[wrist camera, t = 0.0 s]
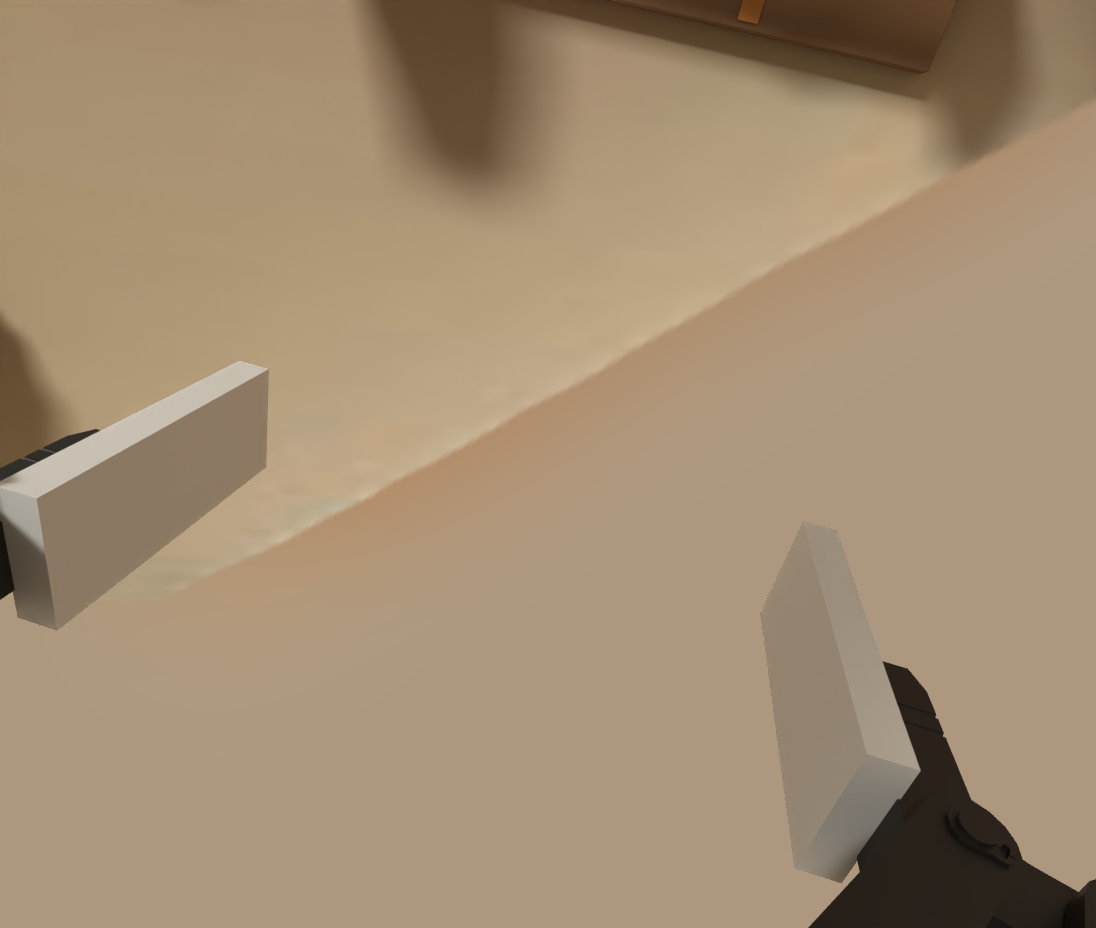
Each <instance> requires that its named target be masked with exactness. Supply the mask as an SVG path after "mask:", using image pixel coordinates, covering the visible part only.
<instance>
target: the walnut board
mask: <svg viewBox="0 0 1096 928" xmlns="http://www.w3.org/2000/svg"><path fill="white" fill-rule="evenodd" d="M609 1H613V2H617V3H622V4H626V5H630V6H634V7H639V8H643V9H647V10H652V11H656V12H660V13H664V14H669V15H673V16H677V17H682V18H686V19H690V20H694V21H699V22H703V23H707V24H712V25H716V26H720V27H724V28H729V29H733V30H737V31H742V32H746V33H750V34H754V35H759V36H763V37H767V38H772V39H776V40H780V41H784V42H789V43H793V44H797V45H802V46H806V47H810V48H814V49H819V50H823V51H827V52H832V53H836V54H840V55H844V56H849V57H853V58H857V59H862V60H866V61H870V62H874V63H879V64H883V65H887V66H891V67H896V68H900V69H904V70H909V71H913V72H917V73H924V72H928V70H929V68H930V65H931V63H932V60H933V58H934V56H935V53H936V51H937V48H938V46H939V43H940V41H941V39H942V36H943V34H944V31H945V29H946V27H947V24H948V22H949V19H950V17H951V14H952V12H953V10H954V7H955V5H956V2H957V0H609Z"/></svg>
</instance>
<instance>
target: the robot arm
mask: <svg viewBox="0 0 1096 928" xmlns="http://www.w3.org/2000/svg"><path fill="white" fill-rule="evenodd" d="M268 373H269V369H267V368H263V367H259V366H256V365H252V364H249V363H245V362H242V361H238V362H236V363H234V364H232V365H230V366H228V367H226V368H224V369H222V370H220V371H218V372H216V373H214V374H212V375H210V376H208V377H206V378H204V379H202V380H200V381H198V382H196V383H194V384H192V385H190V386H188V387H186V388H184V389H182V390H180V391H178V392H176V393H174V394H172V395H170V396H168V397H166V398H164V399H162V400H160V401H158V402H156V403H154V404H152V405H150V406H148V407H147V408H145V409H143V410H141V411H139V412H137V413H135V414H133V415H131V416H129V417H127V418H125V419H123V420H121V421H119V422H117V423H115V424H113V425H111V426H109V427H107V428H105V429H103V430H97V429H94V430H90V431H86V432H82V433H78V434H74V435H69V436H66V437H64V438H62V439H60V440H58V441H56V442H54V443H52V444H50V445H48V446H45V447H44V449H43V450H37V451H35V452H33V453H31V454H29V455H27V456H25V459H24V460H23V459H19V460H17V461H15V462H13V463H10V464H8V465H6V466H4V467H2V468H0V599H2V598H4V597H5V596H7V595H8V594H9V593H11V592H12V591H13V595H14V600H15V605H16V610H17V616H18V618H21V619H24V620H27V621H30V622H33V623H36V624H39V625H42V626H45V627H49V628H52V629H55V630H58V629H60V628H61V627H62V626H63V625H65V624H66V623H67V622H69V621H70V620H71V619H72V618H74V617H75V616H76V615H77V614H79V613H80V612H81V611H83V610H84V609H85V608H86V607H88V606H89V605H90V604H92V603H93V602H94V601H95V600H97V599H98V598H99V597H100V596H102V595H103V594H104V593H106V592H107V591H108V590H109V589H111V588H112V587H113V586H115V585H116V584H117V583H118V582H120V581H121V580H122V579H123V578H125V577H126V576H127V575H129V574H130V573H131V572H132V571H134V570H135V569H136V568H138V567H139V566H140V565H141V564H143V563H144V562H145V561H147V560H148V559H149V558H150V557H152V556H153V555H154V554H155V553H157V552H158V551H159V550H161V549H162V548H163V547H164V546H166V545H167V544H168V543H170V542H171V541H172V540H173V539H175V538H176V537H177V536H178V535H180V534H181V533H182V532H184V531H185V530H186V529H187V528H189V527H190V526H191V525H193V524H194V523H195V522H196V521H198V520H199V519H200V518H201V517H203V516H204V515H205V514H207V513H208V512H209V511H210V510H212V509H213V508H214V507H216V506H217V505H218V504H219V503H221V502H222V501H223V500H224V499H226V498H227V497H228V496H230V495H231V494H232V493H233V492H235V491H236V490H237V489H239V488H240V487H241V486H242V485H244V484H245V483H246V482H247V481H249V480H250V479H251V478H253V477H254V476H255V475H256V474H258V473H259V472H260V471H262V470H263V469H264V468H265V467H266V449H267V411H268ZM760 614H761V620H762V629H763V636H764V644H765V651H766V658H767V666H768V673H769V681H770V688H771V696H772V703H773V711H774V718H775V726H776V733H777V741H778V748H779V755H780V763H781V770H782V778H783V786H784V793H785V801H786V808H787V815H788V823H789V830H790V838H791V846H792V852H793V860H794V867H795V868H796V869H799V870H802V871H805V872H808V873H811V874H814V875H818V876H821V877H824V878H827V879H830V880H833V881H836V882H839V883H842V882H843V880H844V878H845V877H846V876H847V875H848V873H849V872H850V870H851V869H852V867H853V866H854V865H855V863H856V861H858V865H859V870H860V872H859V873H858V875H857V876H856V877H855V878H854V879H853V880H852V881H851V882H850V883H849V884H848V886H847V887H846V888H845V889H844V890H843V891H842V892H841V893H840V894H839V895H838V896H837V897H836V899H835V900H834V901H833V902H832V903H831V904H830V905H829V906H828V907H827V908H826V909H825V910H824V911H823V912H822V914H821V915H820V916H819V917H818V918H817V919H816V920H815V921H814V922H813V923H812V925H811V926H810V927H809V928H1096V879H1095V880H1092V881H1089V882H1088V883H1087V884H1086V885H1085V886H1084V887H1083V888H1082V889H1081V890H1080V891H1079V892H1077V891H1076V890H1074V889H1072V888H1070V887H1069V886H1067V885H1065V884H1063V883H1061V882H1060V881H1058V880H1056V879H1054V878H1052V877H1051V876H1049V875H1047V874H1045V873H1043V872H1042V871H1040V870H1038V869H1037V868H1035V867H1033V866H1031V865H1030V864H1028V863H1027V862H1025V861H1024V860H1023V859H1022V856H1021V853H1020V851H1019V848H1018V845H1017V843H1016V842H1015V840H1014V839H1013V837H1012V836H1011V834H1010V833H1009V831H1008V830H1007V829H1006V827H1005V826H1004V825H1003V824H1002V823H1001V822H1000V821H998V820H997V819H996V818H995V817H994V816H993V815H992V814H991V813H990V812H989V811H987V810H986V809H984V808H983V807H981V806H980V805H978V804H977V803H975V802H973V801H972V800H971V798H970V796H969V793H968V791H967V788H966V786H965V784H964V781H963V779H962V776H961V774H960V772H959V769H958V766H957V764H956V762H955V759H954V757H953V754H952V752H951V749H950V747H949V745H948V742H947V740H946V738H945V737H943V734H944V732H943V730H942V728H941V725H940V723H939V720H938V719H936V718H935V716H936V713H935V711H934V708H933V706H932V703H931V701H930V698H929V696H928V694H927V692H926V690H925V689H924V688H923V687H922V685H921V684H919V682H918V681H917V679H916V678H915V677H914V676H913V675H912V673H911V672H910V671H909V670H908V669H907V668H903V667H900V666H896V665H893V664H890V663H887V662H883V661H882V659H881V656H880V654H879V651H878V648H877V645H876V642H875V639H874V636H873V634H872V631H871V628H870V625H869V622H868V619H867V616H866V614H865V611H864V608H863V605H862V602H861V599H860V596H859V594H858V591H857V588H856V585H855V582H854V579H853V577H852V574H851V571H850V568H849V565H848V562H847V560H846V557H845V554H844V551H843V548H842V545H841V542H840V540H839V537H838V534H837V531H835V530H832V529H828V528H824V527H821V526H817V525H814V524H810V523H807V522H803V523H802V525H801V527H800V530H799V532H798V534H797V536H796V538H795V541H794V543H793V545H792V547H791V549H790V551H789V553H788V556H787V558H786V560H785V562H784V564H783V566H782V568H781V570H780V573H779V575H778V577H777V579H776V581H775V584H774V585H773V588H772V590H771V592H770V594H769V596H768V598H767V601H766V603H765V605H764V607H763V609H762V611H761V613H760Z"/></svg>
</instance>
